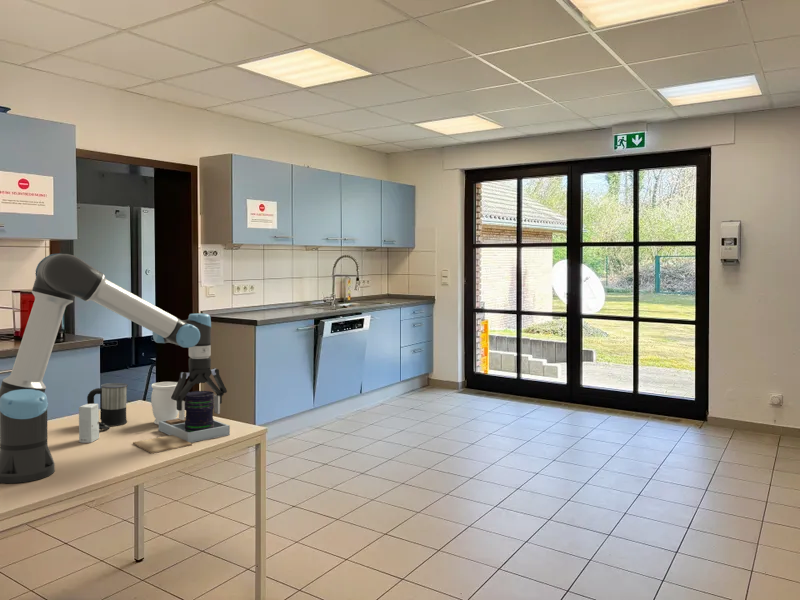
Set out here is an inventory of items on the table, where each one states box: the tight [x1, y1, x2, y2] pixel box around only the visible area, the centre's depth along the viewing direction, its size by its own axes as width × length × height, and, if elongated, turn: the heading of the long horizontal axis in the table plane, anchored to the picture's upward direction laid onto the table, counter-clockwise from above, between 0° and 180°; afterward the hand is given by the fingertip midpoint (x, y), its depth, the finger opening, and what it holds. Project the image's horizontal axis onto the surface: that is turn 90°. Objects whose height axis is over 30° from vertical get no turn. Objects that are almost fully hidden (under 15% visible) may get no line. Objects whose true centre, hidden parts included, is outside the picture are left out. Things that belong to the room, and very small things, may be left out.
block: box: [166, 419, 181, 425], centre depth 226 cm, size 4×4×4 cm
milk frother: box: [86, 382, 129, 431], centre depth 230 cm, size 14×16×15 cm
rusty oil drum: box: [184, 390, 215, 432], centre depth 221 cm, size 10×10×15 cm
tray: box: [158, 417, 231, 443], centre depth 225 cm, size 16×22×3 cm
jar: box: [150, 381, 179, 426], centre depth 237 cm, size 11×10×15 cm
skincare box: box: [78, 403, 100, 444], centre depth 212 cm, size 6×4×12 cm
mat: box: [132, 435, 193, 454], centre depth 209 cm, size 14×14×1 cm
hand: (199, 416), depth 222 cm, fingers open, 13 cm apart
